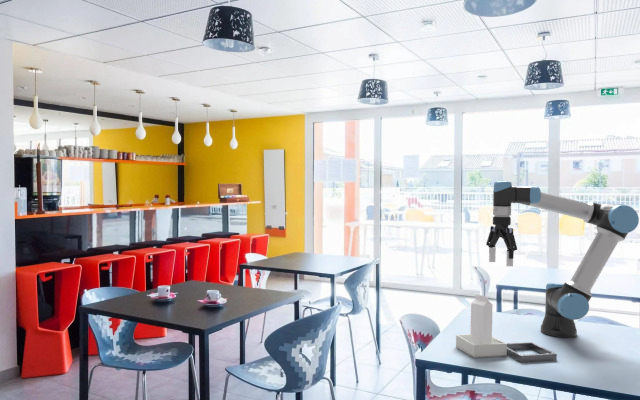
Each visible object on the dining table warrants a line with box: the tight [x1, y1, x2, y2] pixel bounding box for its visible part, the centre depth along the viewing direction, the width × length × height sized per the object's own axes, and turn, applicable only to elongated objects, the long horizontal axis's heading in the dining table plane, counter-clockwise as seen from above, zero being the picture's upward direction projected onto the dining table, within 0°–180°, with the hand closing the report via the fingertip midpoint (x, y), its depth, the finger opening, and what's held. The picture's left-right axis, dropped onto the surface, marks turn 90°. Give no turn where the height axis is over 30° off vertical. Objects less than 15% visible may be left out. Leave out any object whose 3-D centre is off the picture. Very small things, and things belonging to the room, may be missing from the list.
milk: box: [469, 294, 494, 345], centre depth 203 cm, size 6×6×22 cm
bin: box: [455, 333, 508, 359], centre depth 203 cm, size 14×14×5 cm
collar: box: [506, 341, 558, 363], centre depth 200 cm, size 16×16×2 cm
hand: (500, 264), depth 224 cm, fingers open, 13 cm apart
